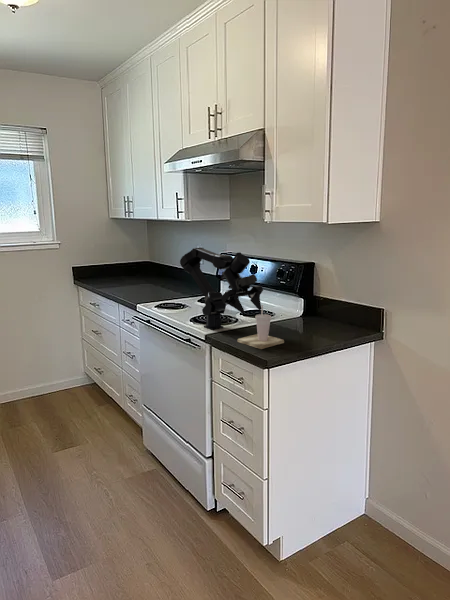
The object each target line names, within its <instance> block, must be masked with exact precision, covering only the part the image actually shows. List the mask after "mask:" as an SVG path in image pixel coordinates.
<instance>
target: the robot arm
mask: <svg viewBox="0 0 450 600" xmlns="http://www.w3.org/2000/svg"><path fill="white" fill-rule="evenodd" d="M203 260H204V261H207V262H209V263H211V264H212V266H213V267H214V268H216V269H217V270H224V271H222V272H221V275H220V279H225V280H226V281H227V283H228V289H226V291H225V292H224V293H223V294H222V292H221V291H217V292H216V291H215V289H214V288H213V287H212V285H211V284H210V282H209V281H208V279H207V277H206V276H205V274H204V272H203V271H202V269H201V262H202V261H203ZM250 263H251V261H250V259H249V257H247V256H246V255H244V254H243V253H242V252H240V251H239V252H236V253H235V255H234V256H232V255H231V254H219V253H216V252H213V251H211V250H208V249H205V248H204V247H194V248H192V249H191V250H190V251H188V252H187V253H185V254H184V255H182V256H181V258H180V260H179V264H180V266H181V268H182V269H183V271H185V272H186V273H188V274H190V275H191V277H192V278H193V280H194V282H195V283H196V284H197V287H198V288H199V290H200V291H201V293H202V295H203V297H204V306H203V308H202V310H201V311H202V315H204V316H205V317H206V325H203V328H206V329H210V330H213V331H214V330H217V329H223V328H224V325H222V318H221V317H222V314H225V311H226V307H227V305H228V306H230V307H232V308H233V309H236V310H237V311H238V312H240V313H241V314H244V313H246V312H245V310H244V307H243V306H242V303H241V301H240V299H239V298H241V297H248V298H249V301H250V302H251V303H252V304H253V305H254V307H256V309H258V310H259V311H261V306H262V304H261V297H260V296H261V294H262V293H263V291H264V288H263V286H262V285H255V284H256V282H257V281H258V278H257V276H256V274H250V275H248V276H244V277H241V275H240V274H242V273H243V272H244V271H245V269H246V268H247V267H248V266H249V265H250ZM252 285H253V286H252ZM254 285H255V286H254ZM251 286H252V287H251ZM250 288H251V289H250ZM248 289H250V290H248Z"/></svg>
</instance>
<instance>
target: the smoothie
mask: <svg viewBox="0 0 450 600" xmlns="http://www.w3.org/2000/svg"><path fill="white" fill-rule="evenodd" d="M263 310H264V305H263V304H261V310H260V313H261V314H260V313H259V314H256V315H255V317H254V318H255V322H256V332H257V333H256V334H258V340H259V341H267V340H268V336H269V332H270V327H271V326H270V325H271V320H272V315H271V314H266V313H264V311H263ZM263 313H264V314H263Z"/></svg>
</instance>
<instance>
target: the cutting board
mask: <svg viewBox="0 0 450 600" xmlns="http://www.w3.org/2000/svg"><path fill="white" fill-rule="evenodd" d="M236 342H237V343H240V344H242V345H247V346H249V347H253V348H256V349H259V350H263V349H267V348H271V347H274V346H277V345H281V344H284V343H285V340H284V339H282V338H279V337H275V336H272V335H268V340H267V341H259V340H258V333H256V334H253V335H252V334H251V335H248V336H244V337H239V338H237V341H236Z"/></svg>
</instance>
